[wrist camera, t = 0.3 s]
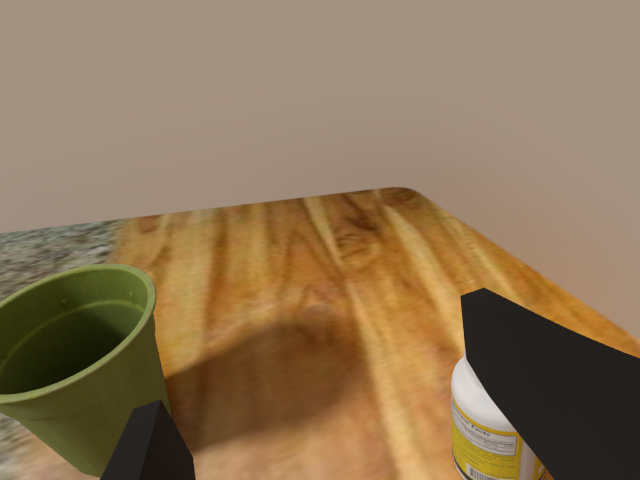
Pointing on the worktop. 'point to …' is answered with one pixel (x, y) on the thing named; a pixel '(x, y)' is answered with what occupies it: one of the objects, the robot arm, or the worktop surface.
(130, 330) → the plant pot
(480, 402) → the supplement bottle
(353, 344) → the worktop surface
